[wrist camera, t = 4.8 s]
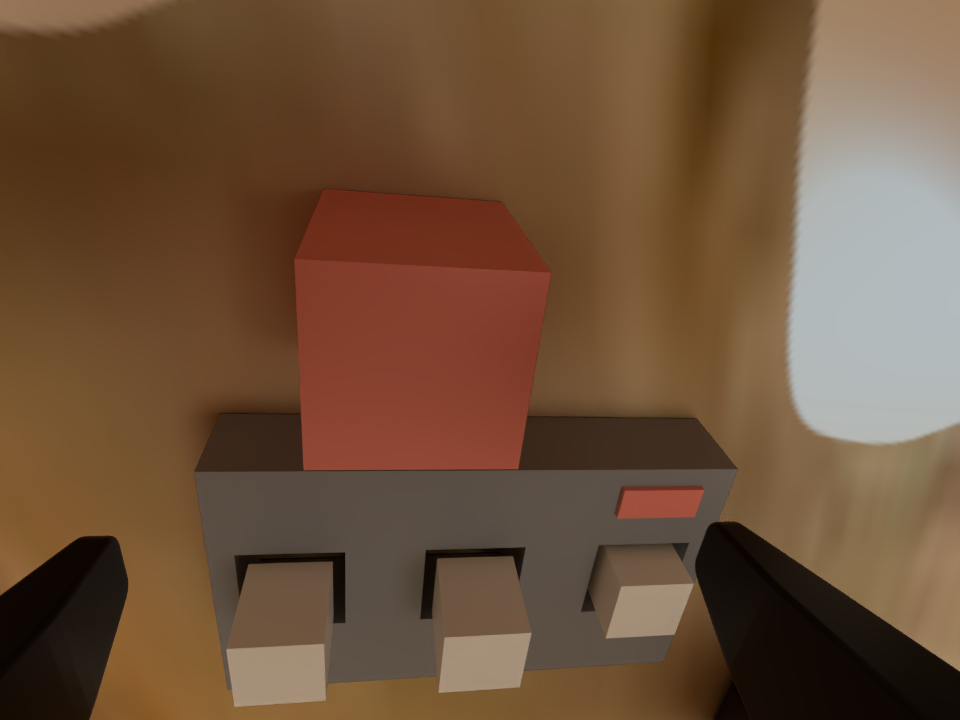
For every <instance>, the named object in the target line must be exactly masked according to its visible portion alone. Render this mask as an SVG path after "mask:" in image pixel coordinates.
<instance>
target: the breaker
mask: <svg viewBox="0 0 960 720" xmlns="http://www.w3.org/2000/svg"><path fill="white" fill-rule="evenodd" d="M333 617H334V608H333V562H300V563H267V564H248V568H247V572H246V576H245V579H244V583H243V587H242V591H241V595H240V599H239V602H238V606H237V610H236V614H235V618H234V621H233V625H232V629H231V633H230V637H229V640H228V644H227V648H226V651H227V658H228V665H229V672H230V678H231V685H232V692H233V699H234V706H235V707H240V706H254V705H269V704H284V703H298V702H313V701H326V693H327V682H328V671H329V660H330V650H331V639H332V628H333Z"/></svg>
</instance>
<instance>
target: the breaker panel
mask: <svg viewBox="0 0 960 720" xmlns="http://www.w3.org/2000/svg"><path fill="white" fill-rule="evenodd" d="M737 471H738V469H737V467H736V466H735V465H734V464H733V462H732V461H731V460H730V459H729V458H728V456H727V455H726V454H725V453H724V451H723V450H722V449H721V448H720V446H719V445H718V444H717V443H716V441H715V440H714V439H713V438H712V437H711V435H710V434H709V433H708V432H707V430H706V429H705V428H704V427H703V425H702V424H701V423H700V422H699V420H698V419H673V418H580V417H527V420H526V426H525V432H524V438H523V444H522V450H521V456H520V461H519V467H518V469H455V470H304V468H303V446H302V423H301V415H300V414H220V415H219V417H218V419H217V422H216V424H215V426H214V428H213V431H212V433H211V435H210V437H209V440H208V442H207V444H206V446H205V449H204V451H203V453H202V455H201V458H200V460H199V462H198V464H197V467H196V469H195V471H194V474H195V481H196V488H197V494H198V501H199V507H200V514H201V520H202V527H203V533H204V540H205V546H206V553H207V559H208V566H209V573H210V579H211V586H212V592H213V599H214V605H215V612H216V618H217V625H218V631H219V638H220V644H221V651H222V658H223V664H224V671H225V677H226V684H227V690H231V689H232V685H231V678H230V672H229V665H228V658H227V651H226V648H227V644H228V640H229V637H230V633H231V629H232V625H233V621H234V618H235V614H236V610H237V606H238V602H239V599H240V595H241V591H242V587H243V583H244V579H245V576H246V572H247V568H248V564H267V563H300V562H333V608H334V617H333V628H332V639H331V650H330V660H329V671H328V682H327V683H341V682H357V681H372V680H388V679H404V678H419V677H435V676H437V669H436V656H435V643H434V630H433V618H432V606H433V596H434V586H435V575H436V565H437V558H466V557H500V556H513V558H514V562H515V567H516V571H517V575H518V579H519V583H520V587H521V591H522V596H523V600H524V604H525V608H526V612H527V616H528V620H529V624H530V629H531V638H530V642H529V647H528V652H527V656H526V661H525V666H524V670H523V671H529V670H545V669H560V668H576V667H592V666H607V665H623V664H639V663H654V662H664V660H665V657H666V655H667V652H668V650H669V647H670V644H671V642H672V639H673V637H674V635H660V636H642V637H624V638H605V636H604V633H603V630H602V627H601V625H600V622H599V619H598V616H597V613H596V611H595V608H594V605H593V602H592V600H591V597H590V594H589V591H588V589H587V587H588V583H589V580H590V576H591V572H592V568H593V565H594V561H595V557H596V554H597V550H598V546H599V545H625V544H661V543H672V545H673V547H674V548H675V550H676V552H677V554H678V556H679V557H680V559H681V561H682V563H683V565H684V566H685V568H686V570H687V572H688V573H689V575H690V577H691V579H692V581H693V582H695V580H696V577H697V576H696V572H695V560H696V556H697V554H698V551H699V548H700V546H701V543H702V540H703V538H704V535H705V532H706V530H707V528H708V526H709V525H710V524H711V523H713V522H718V520H719V517H720V515H721V512H722V510H723V507H724V504H725V502H726V499H727V497H728V494H729V491H730V489H731V486H732V484H733V481H734V478H735V476H736V473H737ZM480 548H500V553H484V554H449V555H426V550H443V549H480ZM334 552H345V558H311V559H277V560H260V558H259V555H262V554H298V553H334Z"/></svg>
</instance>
